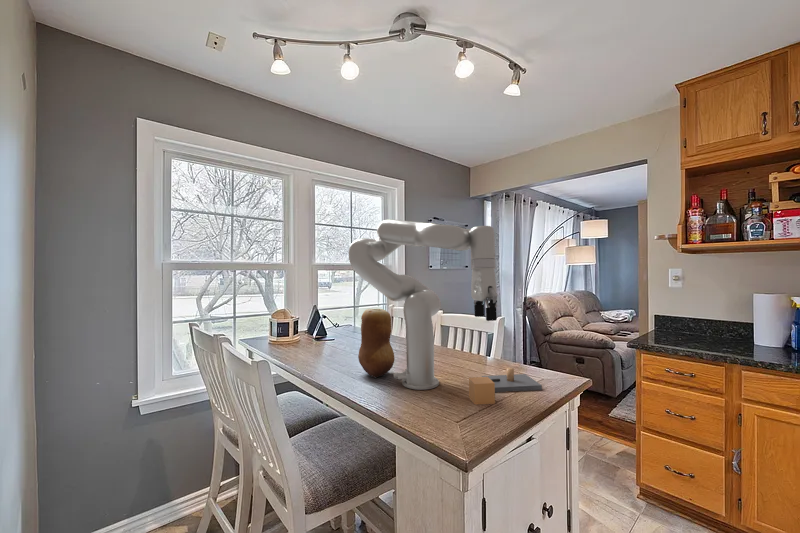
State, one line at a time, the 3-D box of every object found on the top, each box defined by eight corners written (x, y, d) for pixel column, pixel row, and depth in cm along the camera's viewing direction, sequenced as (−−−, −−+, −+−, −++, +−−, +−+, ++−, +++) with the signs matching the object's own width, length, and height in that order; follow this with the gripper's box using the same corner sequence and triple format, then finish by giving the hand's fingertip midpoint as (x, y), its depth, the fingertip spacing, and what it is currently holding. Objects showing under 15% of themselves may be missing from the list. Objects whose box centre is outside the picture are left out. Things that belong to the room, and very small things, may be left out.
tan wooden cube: (474, 404, 102) (474, 384, 102) (469, 397, 108) (468, 377, 108) (494, 403, 103) (494, 383, 103) (487, 396, 109) (487, 376, 109)
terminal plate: (493, 392, 112) (493, 375, 112) (481, 380, 124) (481, 364, 124) (541, 389, 114) (541, 372, 114) (525, 378, 126) (525, 362, 126)
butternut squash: (401, 375, 132) (400, 308, 132) (375, 383, 122) (374, 312, 122) (377, 368, 141) (376, 306, 141) (350, 375, 132) (349, 309, 132)
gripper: (463, 265, 120) (465, 315, 120) (482, 264, 103) (484, 323, 103) (484, 265, 121) (485, 314, 121) (506, 263, 104) (508, 321, 104)
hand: (485, 318), depth 112 cm, fingers open, 9 cm apart
